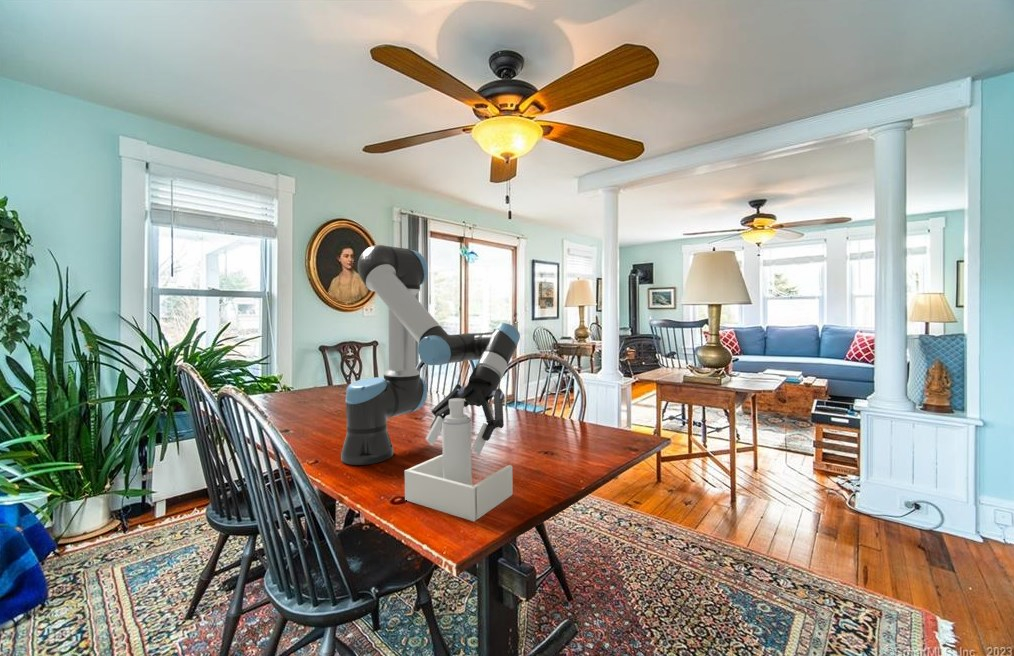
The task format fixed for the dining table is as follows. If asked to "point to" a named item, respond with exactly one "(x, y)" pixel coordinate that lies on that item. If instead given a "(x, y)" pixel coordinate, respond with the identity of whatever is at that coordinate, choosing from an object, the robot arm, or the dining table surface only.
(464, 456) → the white bottle
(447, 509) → the storage bay
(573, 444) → the dining table surface
